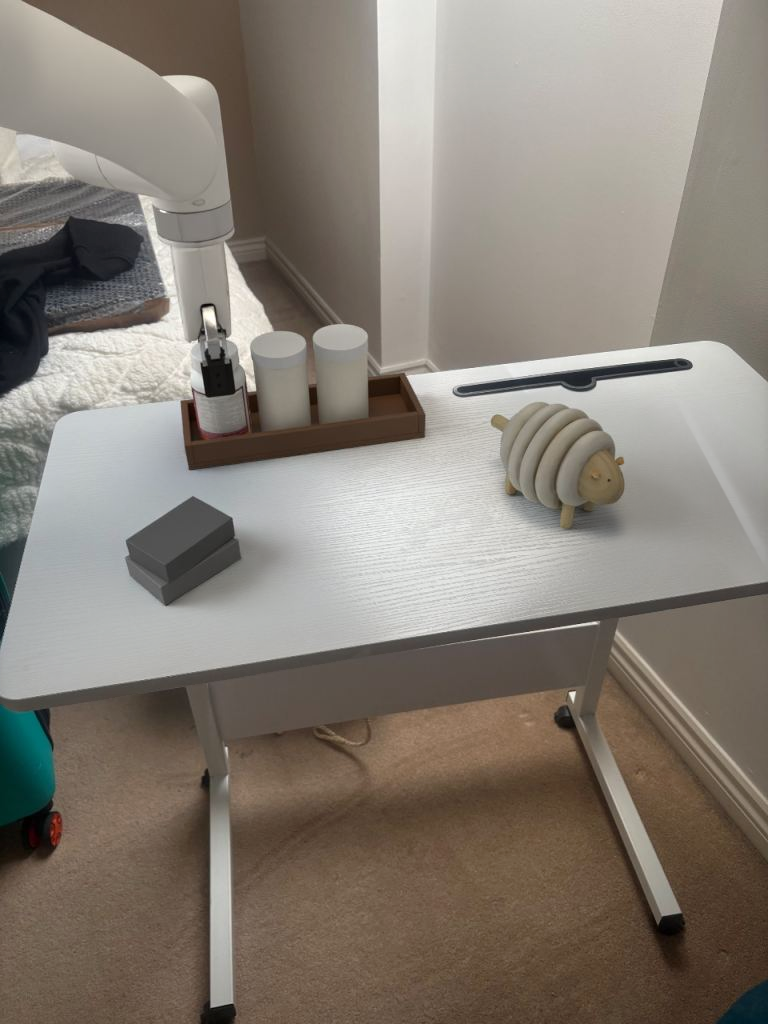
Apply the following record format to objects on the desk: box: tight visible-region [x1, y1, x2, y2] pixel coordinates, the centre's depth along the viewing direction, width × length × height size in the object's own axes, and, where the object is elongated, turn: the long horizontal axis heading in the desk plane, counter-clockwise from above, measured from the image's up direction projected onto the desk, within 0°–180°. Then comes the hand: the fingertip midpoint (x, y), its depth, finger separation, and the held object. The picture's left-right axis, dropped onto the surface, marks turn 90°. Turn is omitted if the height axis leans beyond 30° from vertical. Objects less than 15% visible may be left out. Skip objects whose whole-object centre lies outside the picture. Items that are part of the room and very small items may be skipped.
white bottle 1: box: [249, 330, 311, 432], centre depth 95 cm, size 6×6×11 cm
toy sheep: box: [490, 401, 626, 530], centre depth 86 cm, size 11×17×11 cm, turn 46°
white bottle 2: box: [312, 323, 369, 424], centre depth 96 cm, size 6×6×11 cm
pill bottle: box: [189, 339, 252, 440], centre depth 94 cm, size 6×6×11 cm
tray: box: [179, 372, 426, 471], centre depth 99 cm, size 28×10×3 cm, turn 103°
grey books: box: [124, 495, 242, 606], centre depth 80 cm, size 9×6×5 cm
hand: (217, 372), depth 92 cm, fingers open, 9 cm apart
